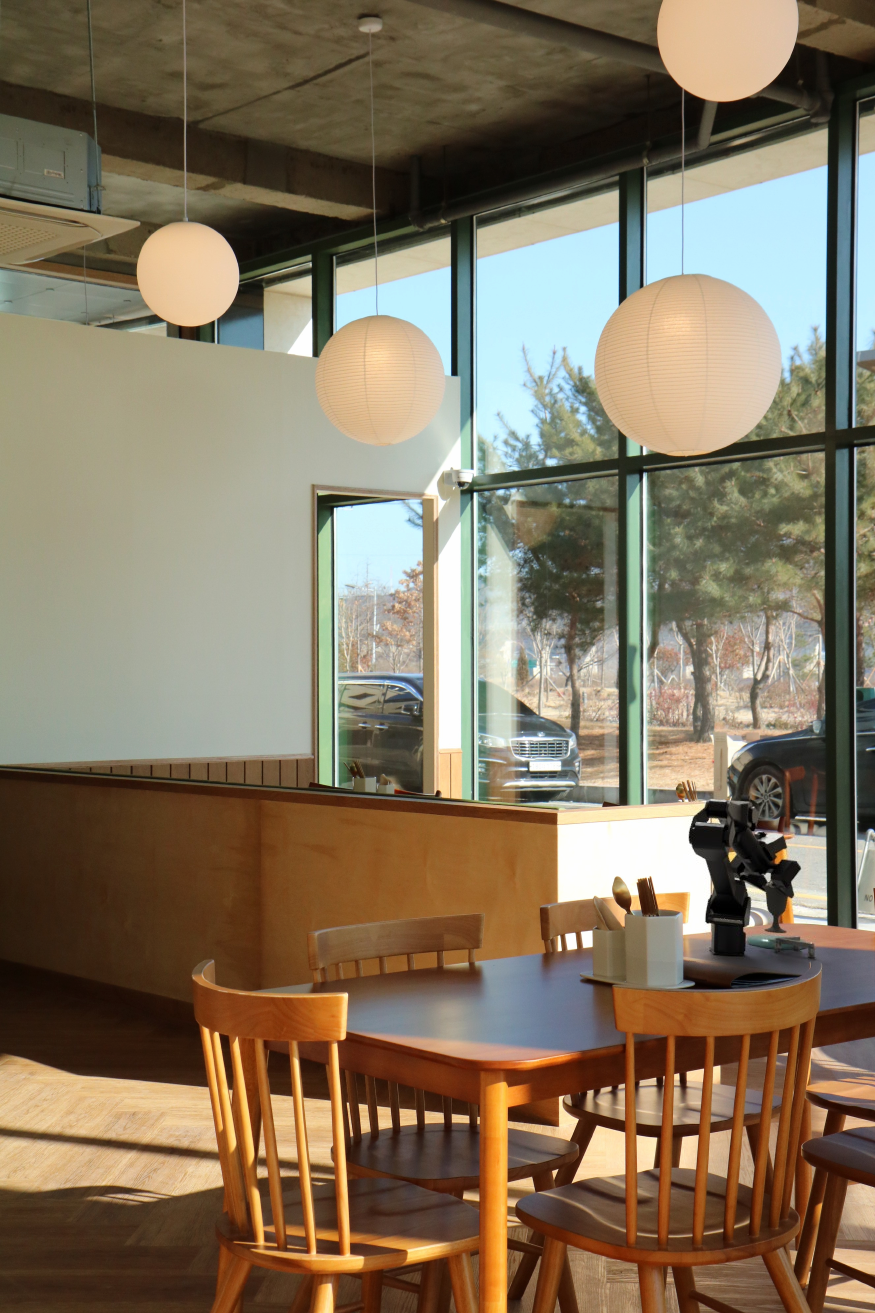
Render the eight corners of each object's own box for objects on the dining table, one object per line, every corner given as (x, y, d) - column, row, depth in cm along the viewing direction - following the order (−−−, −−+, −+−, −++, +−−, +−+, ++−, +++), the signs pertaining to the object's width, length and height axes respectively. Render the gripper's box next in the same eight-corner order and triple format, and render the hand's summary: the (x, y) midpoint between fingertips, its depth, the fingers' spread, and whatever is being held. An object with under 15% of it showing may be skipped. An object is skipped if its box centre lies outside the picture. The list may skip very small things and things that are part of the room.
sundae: (776, 934, 296) (779, 866, 297) (754, 929, 302) (756, 863, 302) (797, 933, 299) (799, 866, 300) (774, 928, 305) (777, 863, 306)
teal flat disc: (753, 948, 294) (753, 943, 294) (741, 938, 307) (741, 933, 307) (812, 950, 294) (812, 946, 294) (797, 940, 307) (797, 936, 307)
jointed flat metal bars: (780, 956, 284) (781, 942, 285) (770, 948, 294) (770, 934, 295) (815, 958, 284) (815, 943, 284) (803, 950, 294) (804, 936, 294)
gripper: (796, 824, 292) (831, 874, 296) (738, 817, 308) (772, 865, 313) (767, 860, 288) (804, 910, 292) (710, 851, 304) (746, 899, 309)
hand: (781, 895), depth 302 cm, fingers closed on sundae, 7 cm apart
